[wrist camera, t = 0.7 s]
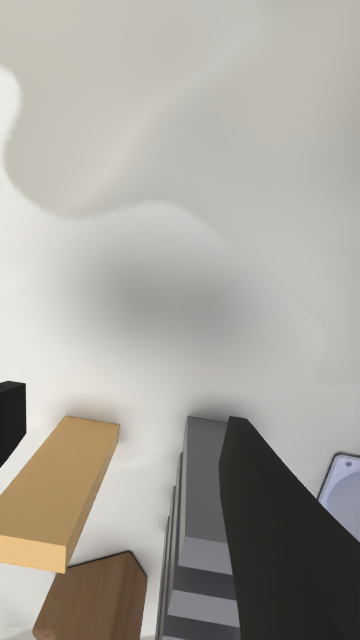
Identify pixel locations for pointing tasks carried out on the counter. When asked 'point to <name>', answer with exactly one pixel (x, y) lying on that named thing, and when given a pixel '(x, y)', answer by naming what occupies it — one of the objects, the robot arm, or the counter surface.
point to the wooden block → (95, 602)
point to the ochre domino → (55, 495)
